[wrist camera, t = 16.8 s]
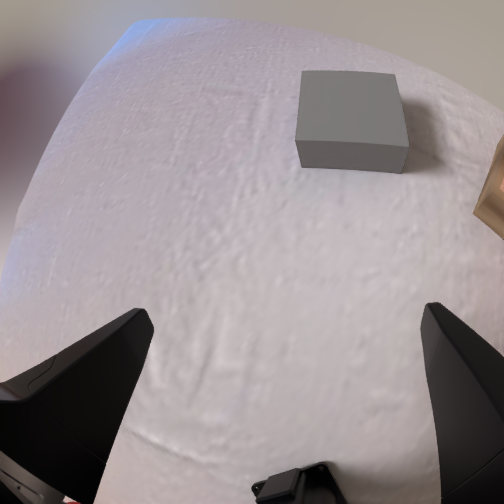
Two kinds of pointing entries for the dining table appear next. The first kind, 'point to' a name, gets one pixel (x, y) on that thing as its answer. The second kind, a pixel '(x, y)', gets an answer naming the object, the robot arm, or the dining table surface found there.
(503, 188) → the terracotta block
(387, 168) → the charcoal plinth
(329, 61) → the dining table surface
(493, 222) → the walnut block
